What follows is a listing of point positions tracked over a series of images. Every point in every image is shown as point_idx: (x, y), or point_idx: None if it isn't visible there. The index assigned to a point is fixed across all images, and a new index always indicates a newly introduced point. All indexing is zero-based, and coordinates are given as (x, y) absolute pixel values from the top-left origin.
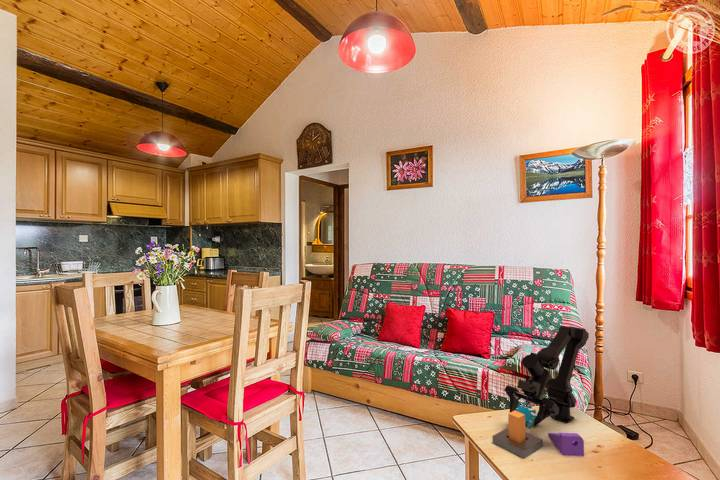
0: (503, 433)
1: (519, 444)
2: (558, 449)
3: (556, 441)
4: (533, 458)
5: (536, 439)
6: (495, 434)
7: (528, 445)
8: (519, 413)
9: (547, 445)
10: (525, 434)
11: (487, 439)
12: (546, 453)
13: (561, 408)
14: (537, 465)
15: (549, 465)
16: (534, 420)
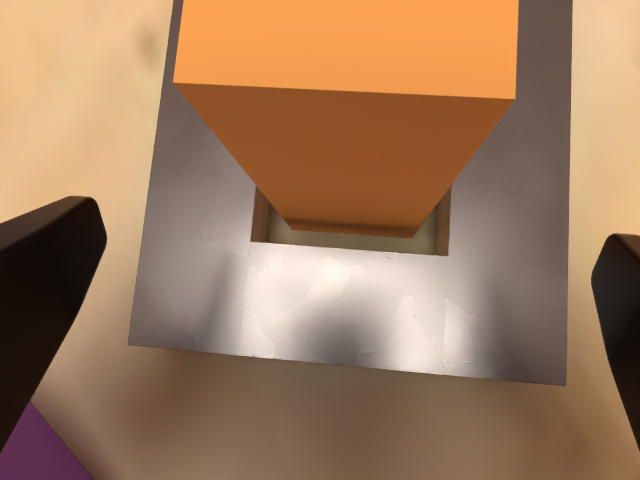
0: (520, 117)
1: None
2: (29, 402)
3: (19, 457)
4: (146, 77)
5: (180, 289)
6: (570, 23)
7: None
8: (312, 20)
9: (137, 400)
10: (273, 206)
11: (618, 36)
12: None
13: None
14: (82, 9)
15: (10, 84)
16: (41, 229)
